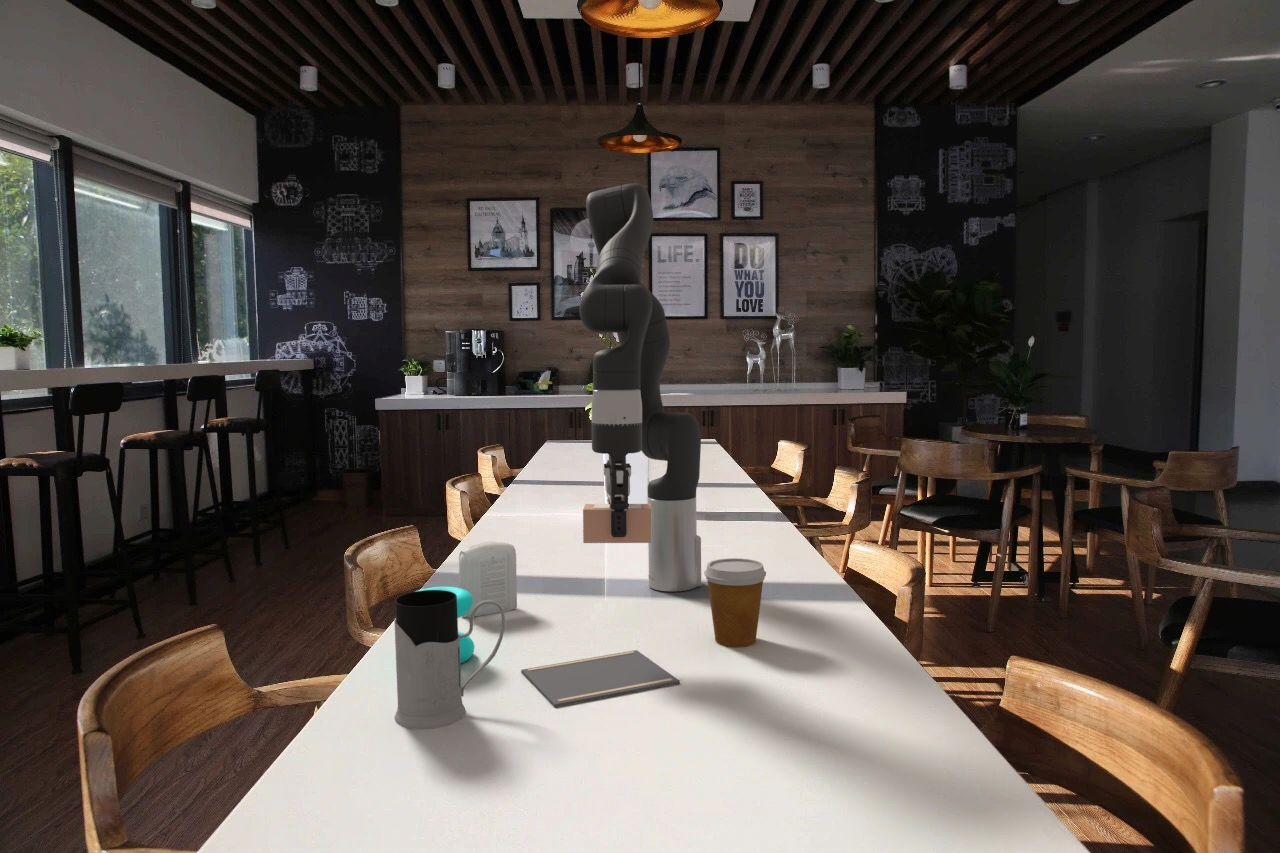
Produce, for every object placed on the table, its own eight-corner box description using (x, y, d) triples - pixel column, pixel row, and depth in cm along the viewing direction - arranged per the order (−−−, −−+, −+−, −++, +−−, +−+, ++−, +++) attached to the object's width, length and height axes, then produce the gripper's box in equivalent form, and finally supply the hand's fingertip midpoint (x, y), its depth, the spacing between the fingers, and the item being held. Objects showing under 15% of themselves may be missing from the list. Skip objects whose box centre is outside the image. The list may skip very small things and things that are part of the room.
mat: (636, 652, 136) (636, 649, 136) (679, 683, 123) (679, 679, 123) (521, 672, 128) (521, 669, 128) (554, 707, 116) (554, 703, 116)
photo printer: (510, 604, 163) (508, 536, 162) (521, 609, 159) (519, 540, 158) (456, 614, 157) (454, 544, 156) (466, 620, 154) (463, 548, 152)
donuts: (428, 582, 140) (485, 587, 137) (430, 645, 141) (487, 651, 138) (389, 599, 131) (448, 605, 127) (391, 666, 132) (451, 674, 128)
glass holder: (390, 707, 117) (385, 593, 115) (499, 690, 122) (496, 581, 121) (399, 733, 109) (394, 611, 107) (515, 714, 114) (511, 597, 113)
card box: (651, 536, 139) (651, 503, 138) (651, 542, 134) (651, 508, 133) (585, 536, 139) (585, 503, 138) (583, 543, 134) (583, 508, 133)
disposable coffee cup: (771, 633, 144) (771, 559, 143) (759, 653, 135) (759, 574, 134) (713, 628, 147) (712, 555, 146) (697, 647, 138) (696, 570, 137)
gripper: (646, 423, 128) (646, 542, 129) (638, 416, 142) (638, 523, 143) (593, 424, 127) (594, 543, 129) (590, 417, 142) (591, 524, 143)
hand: (617, 532), depth 136 cm, fingers closed on card box, 5 cm apart
